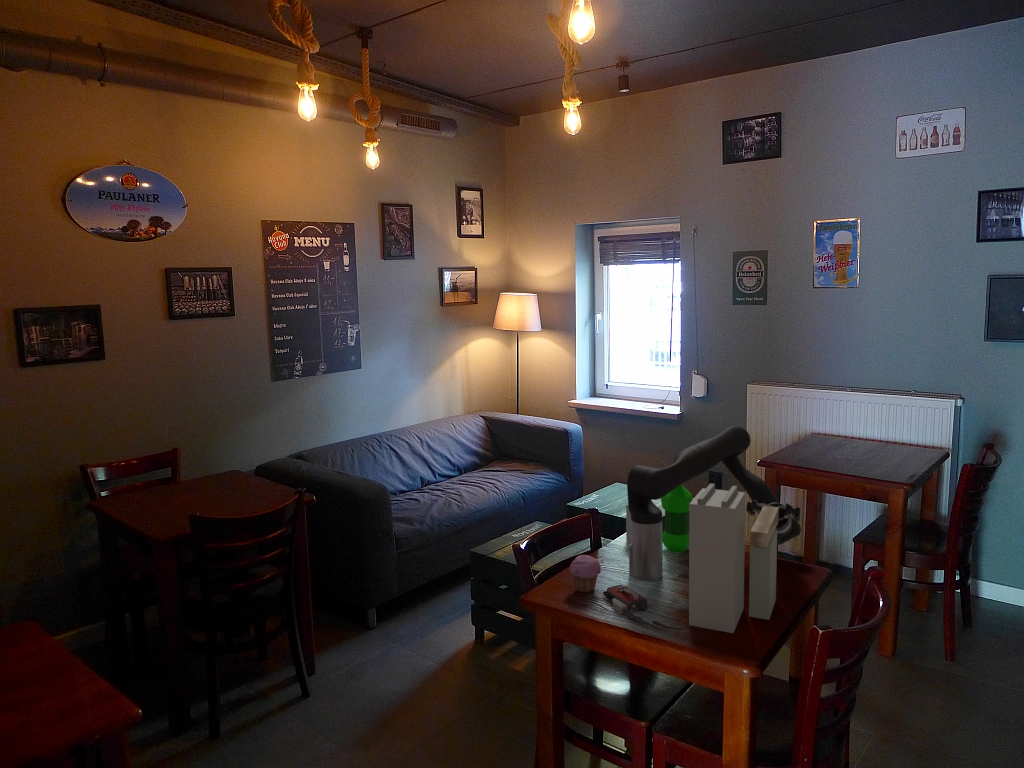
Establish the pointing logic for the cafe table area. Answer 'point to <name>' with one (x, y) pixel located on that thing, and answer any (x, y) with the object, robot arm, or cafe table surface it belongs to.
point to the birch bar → (764, 527)
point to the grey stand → (716, 558)
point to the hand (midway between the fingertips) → (770, 505)
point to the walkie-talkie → (626, 600)
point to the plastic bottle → (676, 519)
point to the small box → (628, 525)
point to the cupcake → (585, 572)
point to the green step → (763, 579)
